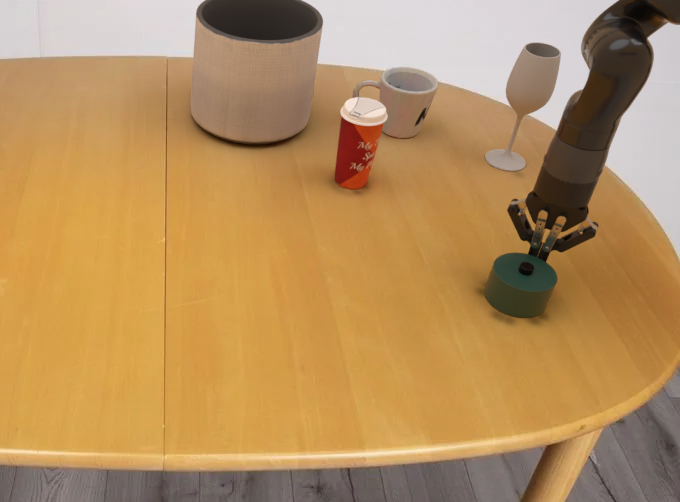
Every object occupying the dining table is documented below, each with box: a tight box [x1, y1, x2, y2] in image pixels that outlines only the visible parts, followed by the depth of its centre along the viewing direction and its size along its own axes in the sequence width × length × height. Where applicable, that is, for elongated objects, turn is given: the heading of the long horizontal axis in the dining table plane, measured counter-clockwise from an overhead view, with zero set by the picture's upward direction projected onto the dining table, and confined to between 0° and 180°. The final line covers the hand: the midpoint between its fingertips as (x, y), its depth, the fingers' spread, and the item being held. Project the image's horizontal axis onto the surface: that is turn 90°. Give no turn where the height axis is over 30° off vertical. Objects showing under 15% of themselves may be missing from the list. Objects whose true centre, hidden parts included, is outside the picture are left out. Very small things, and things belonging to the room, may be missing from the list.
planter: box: [189, 0, 324, 145], centre depth 159 cm, size 23×23×20 cm
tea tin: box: [483, 252, 558, 319], centre depth 127 cm, size 9×9×6 cm
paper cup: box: [334, 96, 387, 190], centre depth 147 cm, size 8×8×14 cm
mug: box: [352, 66, 440, 139], centre depth 162 cm, size 10×15×10 cm
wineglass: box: [484, 41, 562, 173], centre depth 151 cm, size 8×8×21 cm
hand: (533, 265), depth 131 cm, fingers closed
